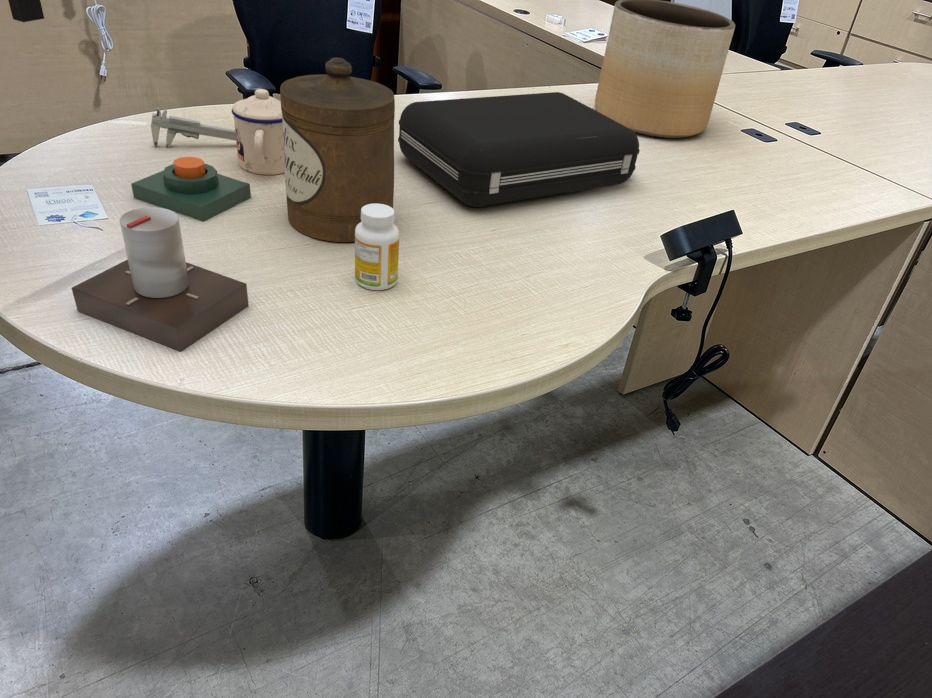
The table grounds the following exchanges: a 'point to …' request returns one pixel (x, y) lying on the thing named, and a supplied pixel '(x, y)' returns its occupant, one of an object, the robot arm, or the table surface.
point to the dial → (155, 251)
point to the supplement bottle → (376, 248)
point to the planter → (662, 67)
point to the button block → (192, 192)
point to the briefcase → (516, 146)
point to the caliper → (185, 128)
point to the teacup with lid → (259, 134)
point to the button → (189, 167)
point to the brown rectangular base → (162, 305)
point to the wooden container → (336, 150)
